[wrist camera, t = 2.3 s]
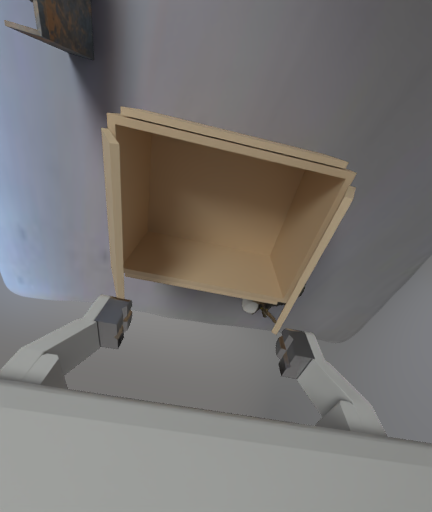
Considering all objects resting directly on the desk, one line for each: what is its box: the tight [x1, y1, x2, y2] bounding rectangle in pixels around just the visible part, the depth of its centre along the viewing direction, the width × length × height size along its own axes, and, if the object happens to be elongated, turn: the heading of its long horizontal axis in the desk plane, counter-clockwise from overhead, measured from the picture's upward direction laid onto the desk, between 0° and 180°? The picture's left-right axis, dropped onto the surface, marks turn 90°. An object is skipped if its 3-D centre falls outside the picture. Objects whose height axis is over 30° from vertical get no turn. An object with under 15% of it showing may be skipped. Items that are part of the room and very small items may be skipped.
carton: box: [107, 107, 357, 305], centre depth 25 cm, size 16×20×10 cm
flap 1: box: [101, 128, 124, 299], centre depth 17 cm, size 13×1×6 cm
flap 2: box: [272, 186, 356, 334], centre depth 19 cm, size 13×1×6 cm, turn 168°
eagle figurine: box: [242, 284, 306, 323], centre depth 34 cm, size 8×7×9 cm
